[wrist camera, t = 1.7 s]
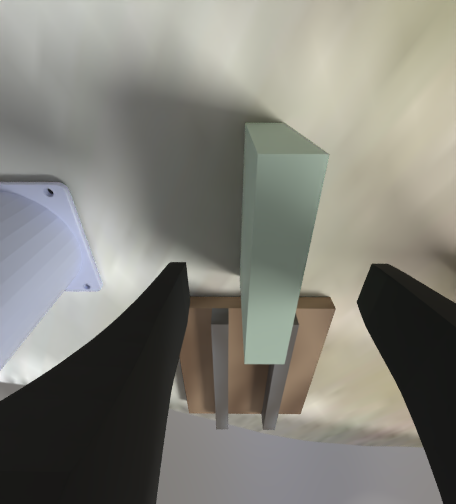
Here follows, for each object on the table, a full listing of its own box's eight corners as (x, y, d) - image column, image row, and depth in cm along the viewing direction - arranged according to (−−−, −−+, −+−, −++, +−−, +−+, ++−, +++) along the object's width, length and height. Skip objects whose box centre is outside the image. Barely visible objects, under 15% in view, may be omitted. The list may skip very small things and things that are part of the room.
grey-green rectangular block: (239, 275, 18) (244, 364, 13) (245, 122, 13) (257, 154, 7) (267, 275, 18) (284, 364, 13) (284, 122, 13) (329, 154, 7)
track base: (190, 401, 28) (187, 429, 26) (174, 296, 19) (166, 324, 17) (297, 402, 28) (303, 429, 26) (330, 297, 19) (343, 325, 17)
